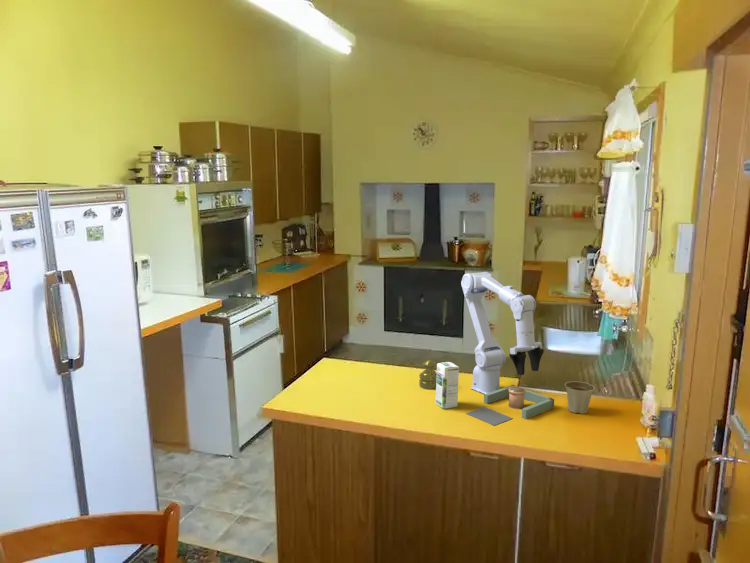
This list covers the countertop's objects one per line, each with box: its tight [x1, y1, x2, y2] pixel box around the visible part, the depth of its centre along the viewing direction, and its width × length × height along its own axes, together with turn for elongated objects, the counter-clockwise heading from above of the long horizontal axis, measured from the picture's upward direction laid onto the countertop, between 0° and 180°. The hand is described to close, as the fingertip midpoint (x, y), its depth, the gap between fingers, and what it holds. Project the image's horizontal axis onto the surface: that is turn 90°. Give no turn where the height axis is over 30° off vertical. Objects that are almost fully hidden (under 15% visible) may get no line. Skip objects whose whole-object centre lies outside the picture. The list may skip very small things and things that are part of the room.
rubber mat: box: [465, 406, 513, 427], centre depth 185 cm, size 12×9×1 cm
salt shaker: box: [418, 359, 437, 390], centre depth 211 cm, size 7×7×10 cm
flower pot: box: [564, 380, 596, 415], centre depth 189 cm, size 9×9×9 cm
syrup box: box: [435, 361, 460, 410], centre depth 192 cm, size 6×6×14 cm
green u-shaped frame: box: [483, 384, 555, 420], centre depth 194 cm, size 18×16×3 cm
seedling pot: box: [508, 385, 527, 410], centre depth 193 cm, size 6×6×6 cm
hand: (528, 372), depth 188 cm, fingers open, 7 cm apart
